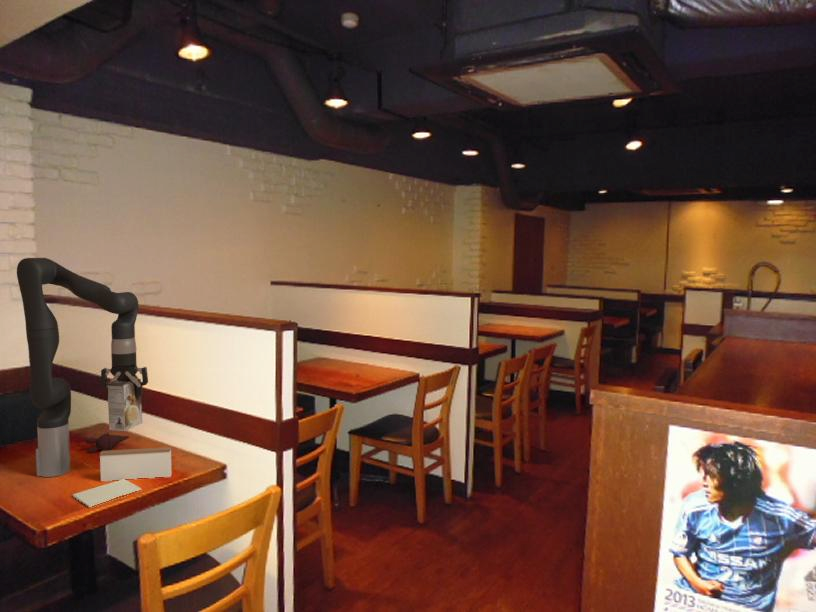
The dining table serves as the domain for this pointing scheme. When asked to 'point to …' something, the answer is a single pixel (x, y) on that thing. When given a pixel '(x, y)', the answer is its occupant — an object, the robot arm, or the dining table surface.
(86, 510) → the dining table surface
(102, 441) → the icecream
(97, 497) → the mat
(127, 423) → the coffee box
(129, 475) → the flat box
